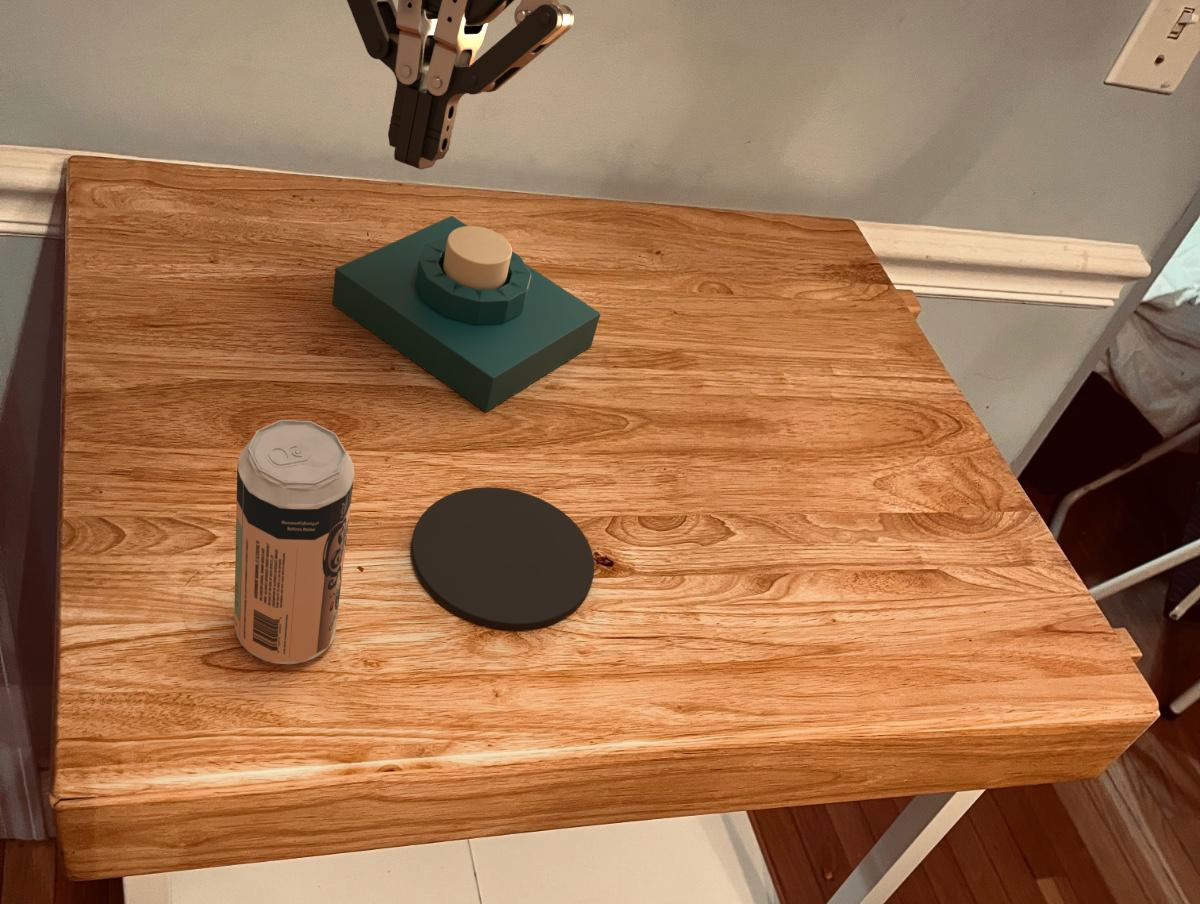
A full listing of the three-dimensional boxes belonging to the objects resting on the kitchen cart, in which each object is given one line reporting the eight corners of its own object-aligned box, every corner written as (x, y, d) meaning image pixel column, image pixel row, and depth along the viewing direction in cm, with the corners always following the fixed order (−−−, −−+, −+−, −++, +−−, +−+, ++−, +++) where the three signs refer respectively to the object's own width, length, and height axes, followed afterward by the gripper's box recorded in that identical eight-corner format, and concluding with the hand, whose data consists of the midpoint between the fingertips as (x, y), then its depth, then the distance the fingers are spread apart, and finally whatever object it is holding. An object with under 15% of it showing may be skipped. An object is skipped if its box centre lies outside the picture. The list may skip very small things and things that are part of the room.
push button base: (331, 304, 76) (337, 243, 72) (446, 249, 83) (455, 191, 79) (485, 412, 72) (498, 354, 69) (591, 346, 79) (607, 290, 76)
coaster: (371, 551, 63) (372, 543, 62) (492, 469, 69) (494, 461, 69) (515, 662, 60) (517, 655, 60) (627, 566, 67) (629, 559, 66)
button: (429, 266, 74) (434, 238, 72) (471, 246, 76) (476, 218, 75) (478, 299, 73) (483, 271, 71) (518, 278, 75) (525, 250, 74)
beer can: (350, 655, 58) (374, 479, 49) (254, 682, 56) (261, 501, 47) (314, 585, 60) (331, 404, 52) (220, 607, 58) (221, 422, 49)
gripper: (317, -286, 51) (264, 127, 60) (599, -194, 49) (502, 218, 58) (395, -252, 57) (337, 116, 66) (648, -170, 56) (553, 197, 64)
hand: (414, 163), depth 62 cm, fingers closed
